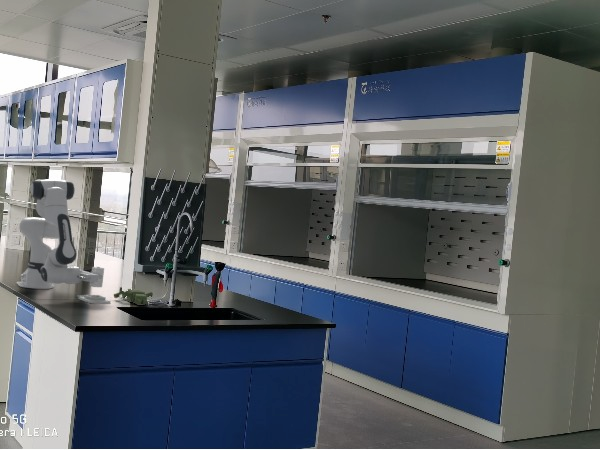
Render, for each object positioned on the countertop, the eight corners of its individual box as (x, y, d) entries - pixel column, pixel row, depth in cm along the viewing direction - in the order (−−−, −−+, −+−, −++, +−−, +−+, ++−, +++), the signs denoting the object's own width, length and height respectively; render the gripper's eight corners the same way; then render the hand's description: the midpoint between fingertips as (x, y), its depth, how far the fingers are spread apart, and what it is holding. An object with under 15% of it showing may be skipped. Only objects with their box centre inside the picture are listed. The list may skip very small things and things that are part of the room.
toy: (107, 296, 380) (121, 309, 354) (109, 283, 379) (123, 294, 353) (144, 297, 390) (160, 310, 364) (146, 285, 390) (162, 296, 364)
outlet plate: (78, 299, 359) (79, 293, 359) (97, 299, 366) (98, 294, 366) (90, 303, 349) (91, 298, 349) (110, 303, 356) (110, 298, 356)
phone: (76, 296, 366) (76, 295, 366) (87, 296, 371) (87, 294, 371) (92, 301, 357) (92, 299, 357) (103, 300, 363) (103, 299, 363)
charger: (90, 285, 357) (92, 266, 357) (98, 286, 360) (100, 266, 360) (94, 287, 354) (96, 267, 354) (102, 287, 357) (104, 267, 357)
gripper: (83, 271, 341) (108, 272, 350) (65, 266, 356) (90, 267, 365) (82, 284, 341) (107, 285, 350) (64, 278, 356) (89, 279, 365)
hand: (98, 276), depth 358 cm, fingers closed on charger, 4 cm apart
